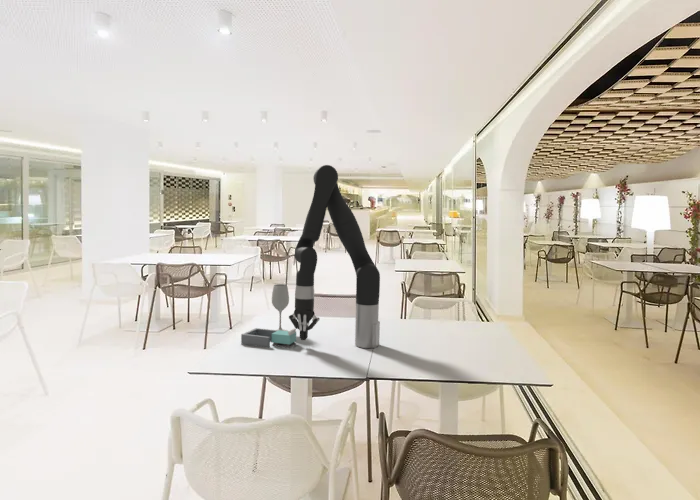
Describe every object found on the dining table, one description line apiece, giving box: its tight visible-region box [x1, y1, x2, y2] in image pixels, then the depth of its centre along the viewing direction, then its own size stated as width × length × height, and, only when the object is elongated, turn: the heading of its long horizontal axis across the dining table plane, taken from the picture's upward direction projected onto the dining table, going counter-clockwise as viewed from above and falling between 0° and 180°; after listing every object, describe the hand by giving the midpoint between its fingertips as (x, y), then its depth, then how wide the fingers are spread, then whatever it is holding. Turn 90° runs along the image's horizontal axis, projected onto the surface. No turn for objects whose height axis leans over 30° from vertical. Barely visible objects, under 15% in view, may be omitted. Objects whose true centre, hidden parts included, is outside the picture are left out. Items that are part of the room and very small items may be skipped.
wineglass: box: [271, 283, 290, 331], centre depth 214 cm, size 8×8×21 cm
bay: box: [240, 327, 278, 348], centre depth 198 cm, size 12×12×4 cm
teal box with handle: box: [271, 328, 297, 349], centre depth 195 cm, size 8×6×6 cm
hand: (303, 339), depth 192 cm, fingers closed
